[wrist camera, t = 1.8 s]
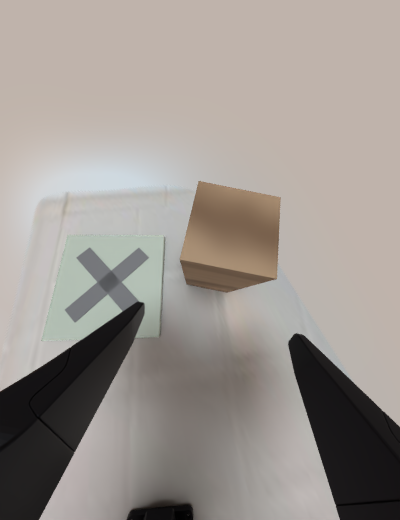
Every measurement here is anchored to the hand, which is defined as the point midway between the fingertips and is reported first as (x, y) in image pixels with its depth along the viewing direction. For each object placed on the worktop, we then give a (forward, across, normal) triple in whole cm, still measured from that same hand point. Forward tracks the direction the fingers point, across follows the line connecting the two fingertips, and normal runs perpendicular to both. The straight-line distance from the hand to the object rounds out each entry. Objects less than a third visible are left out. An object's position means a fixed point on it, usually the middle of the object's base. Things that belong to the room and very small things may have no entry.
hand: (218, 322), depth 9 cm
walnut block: (+13, 0, +4) cm, 14 cm away
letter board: (+10, +13, +8) cm, 18 cm away
